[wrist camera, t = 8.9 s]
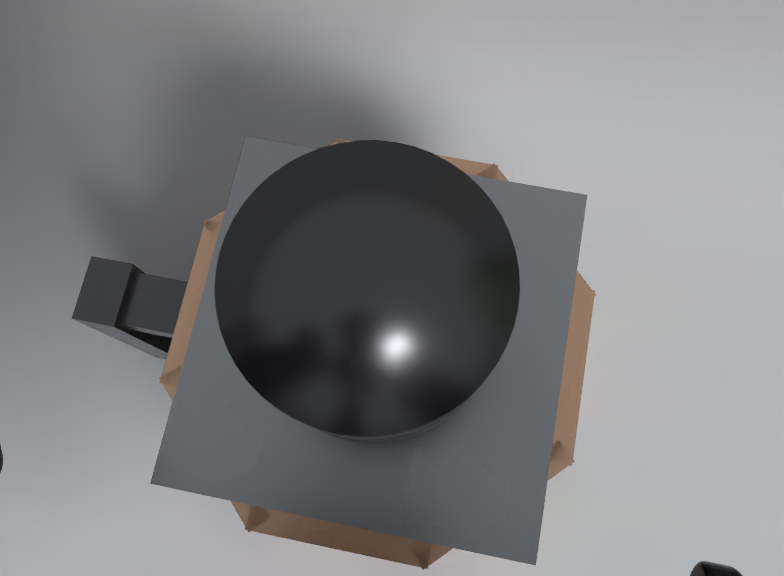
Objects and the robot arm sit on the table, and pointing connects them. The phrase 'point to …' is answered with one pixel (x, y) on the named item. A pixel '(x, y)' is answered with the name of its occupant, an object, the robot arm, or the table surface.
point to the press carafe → (356, 459)
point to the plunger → (367, 290)
